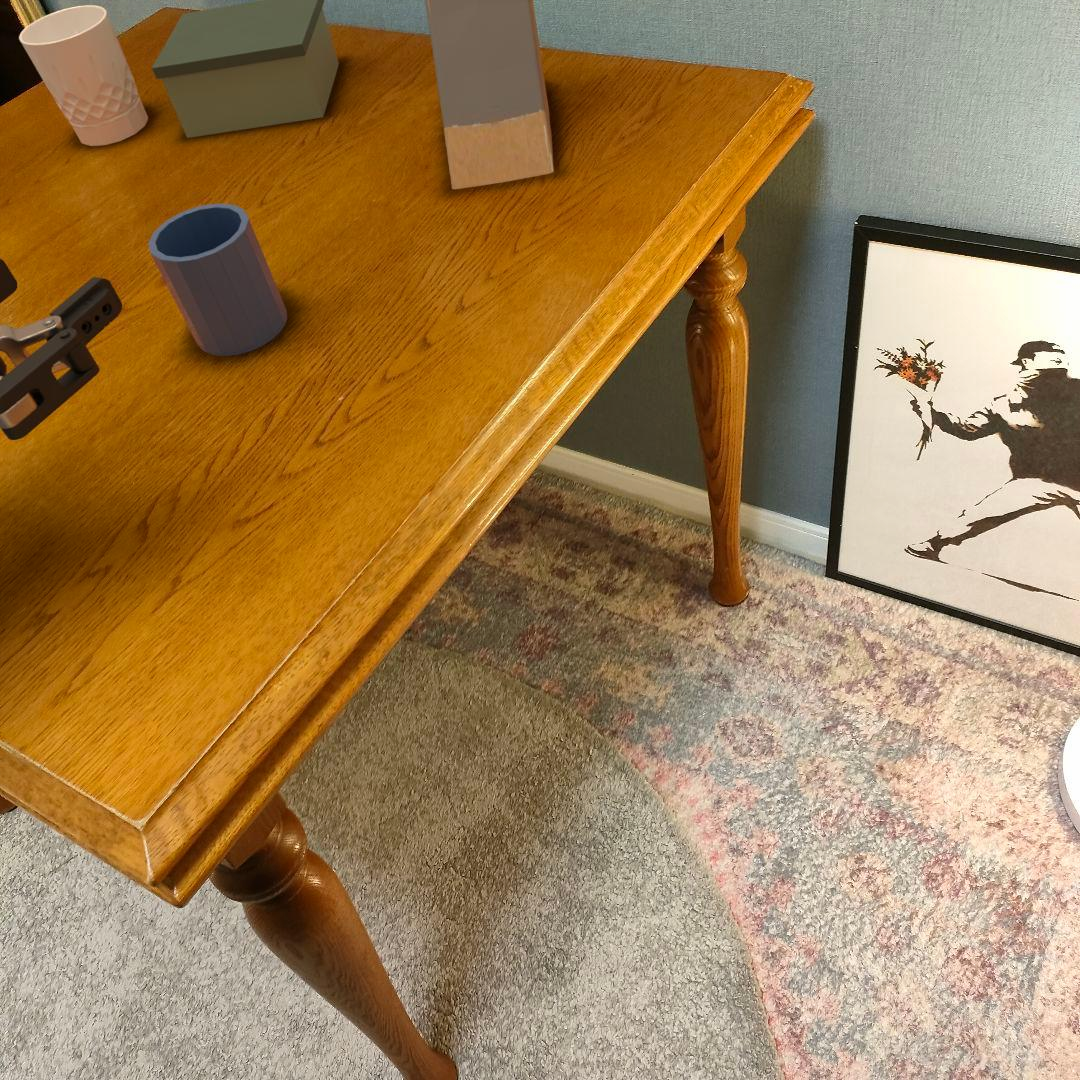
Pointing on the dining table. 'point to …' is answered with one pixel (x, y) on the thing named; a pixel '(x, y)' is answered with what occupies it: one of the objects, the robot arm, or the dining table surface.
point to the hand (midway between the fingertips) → (57, 280)
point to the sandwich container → (490, 90)
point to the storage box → (248, 66)
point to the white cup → (86, 73)
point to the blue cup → (219, 278)
